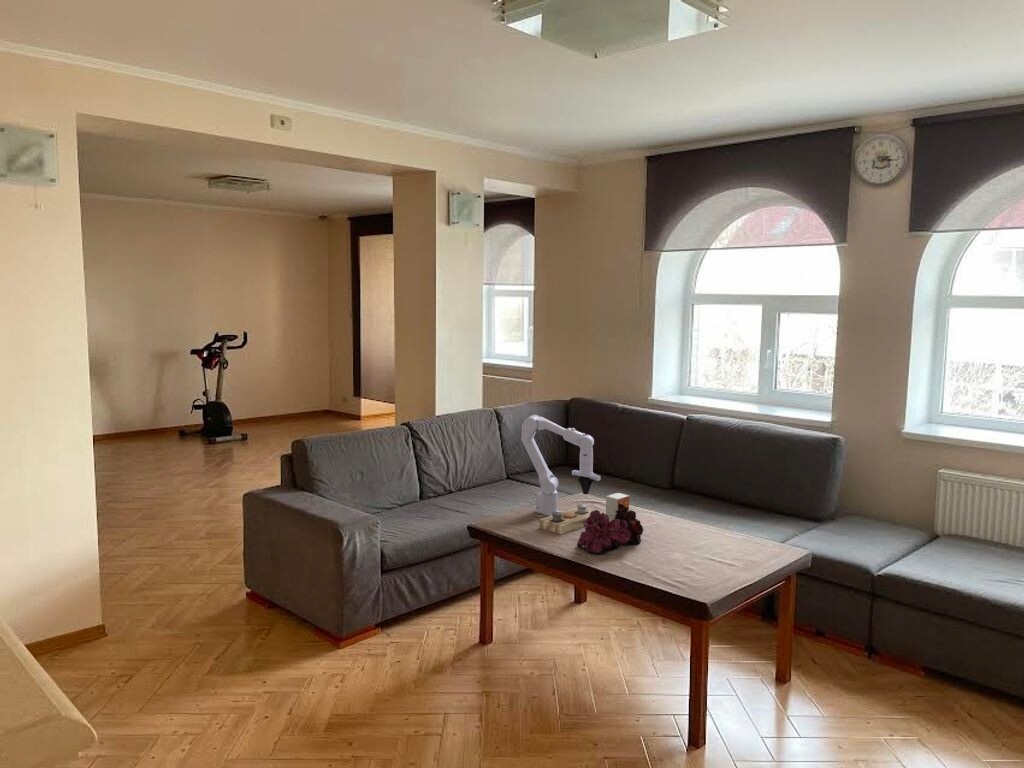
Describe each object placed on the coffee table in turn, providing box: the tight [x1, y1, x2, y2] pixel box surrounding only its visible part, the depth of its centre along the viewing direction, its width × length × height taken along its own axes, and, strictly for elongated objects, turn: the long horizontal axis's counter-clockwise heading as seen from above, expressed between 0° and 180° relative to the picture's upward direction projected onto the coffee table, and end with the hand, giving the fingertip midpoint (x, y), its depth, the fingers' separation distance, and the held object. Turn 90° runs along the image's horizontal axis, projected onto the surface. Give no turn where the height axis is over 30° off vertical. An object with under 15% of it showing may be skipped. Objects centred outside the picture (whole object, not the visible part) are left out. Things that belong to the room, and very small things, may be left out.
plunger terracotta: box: [564, 513, 575, 519], centre depth 311 cm, size 4×4×4 cm
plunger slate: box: [576, 503, 588, 515], centre depth 317 cm, size 4×4×4 cm
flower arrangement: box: [576, 503, 644, 556], centre depth 287 cm, size 31×20×15 cm, turn 141°
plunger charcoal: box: [552, 512, 562, 523], centre depth 305 cm, size 4×4×4 cm
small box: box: [605, 492, 630, 522], centre depth 309 cm, size 8×6×13 cm
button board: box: [539, 507, 593, 535], centre depth 311 cm, size 12×24×4 cm, turn 135°
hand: (585, 493), depth 322 cm, fingers closed
